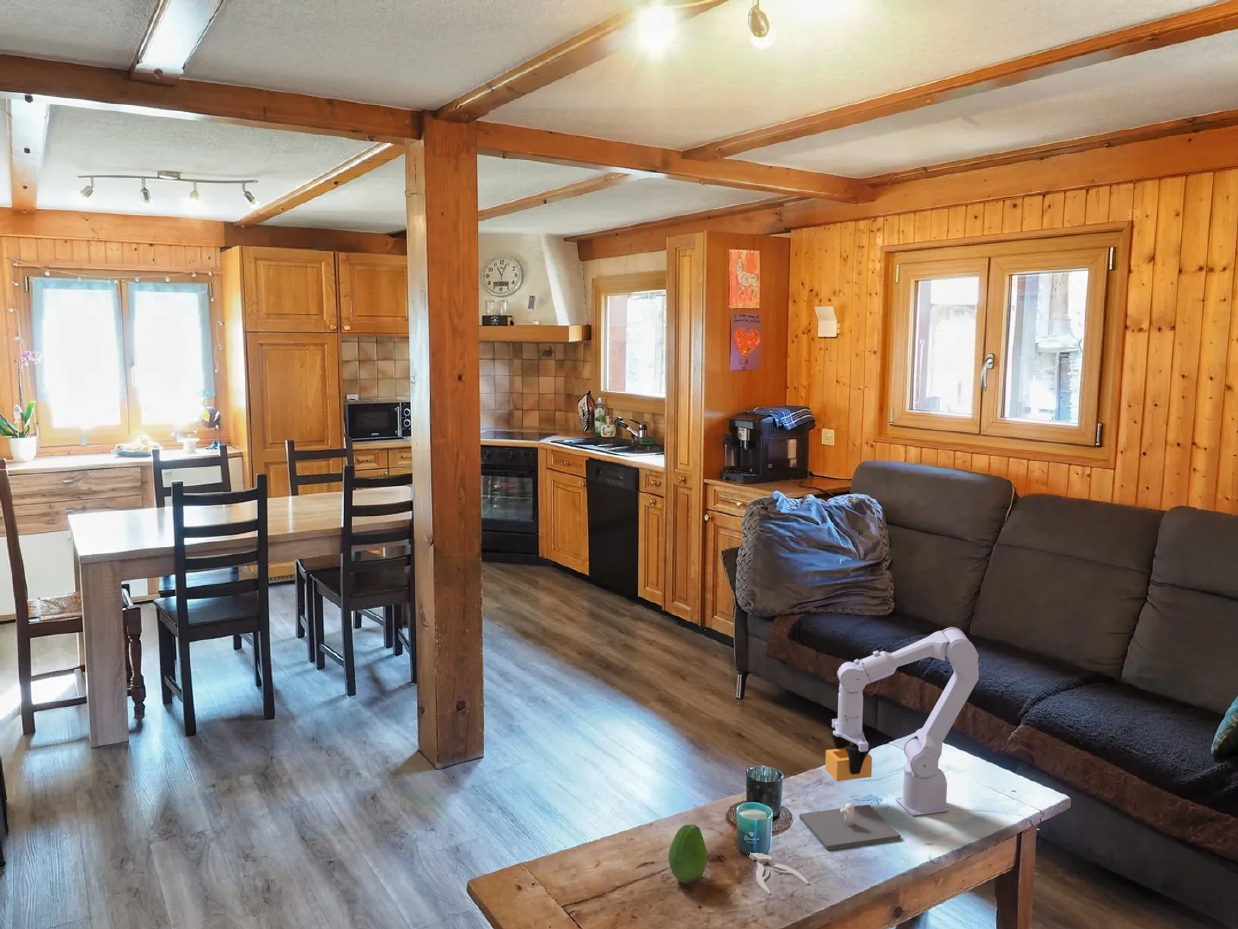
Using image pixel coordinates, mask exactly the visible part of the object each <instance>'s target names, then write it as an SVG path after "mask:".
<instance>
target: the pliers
mask: <svg viewBox="0 0 1238 929" xmlns="http://www.w3.org/2000/svg"><path fill="white" fill-rule="evenodd" d="M748 857H749V858H750V859H751V861H756V866H757V868H756V871H755V878H756V881H757V883H758V885H759V887H760V888H761V889H762V891H764V892H765V893H766V894H768V895H772V892H771V890H770V889H769V887H768V886H767V884H766V883H765V880H767V879H768V878H769V877H770V869H768V870H767V874H766V875H765V876H763V875H764V873H765V867H764V865H766V864H767V863H768V865H769V866H770V867H771V868H773V872H776V873H779V874H783V875H792V876H794V877H796V878H797V879H799V881H801V882H802V883H804V884H805V885H807V886H808V885H810V882H809V881H808V880H807V879H806V878H805V876H804V875H802V874H801V873H800V872H798V871H797V870H796V869H794V868H792V867H789V866H788V865H785V864H781V863H778V862H776V860H775V859H774V858H773V857H772V856H770V855H769V854H767V853H766V854H763V853H758V852H756V853H751V852H750V855H749V856H748Z"/></svg>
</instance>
